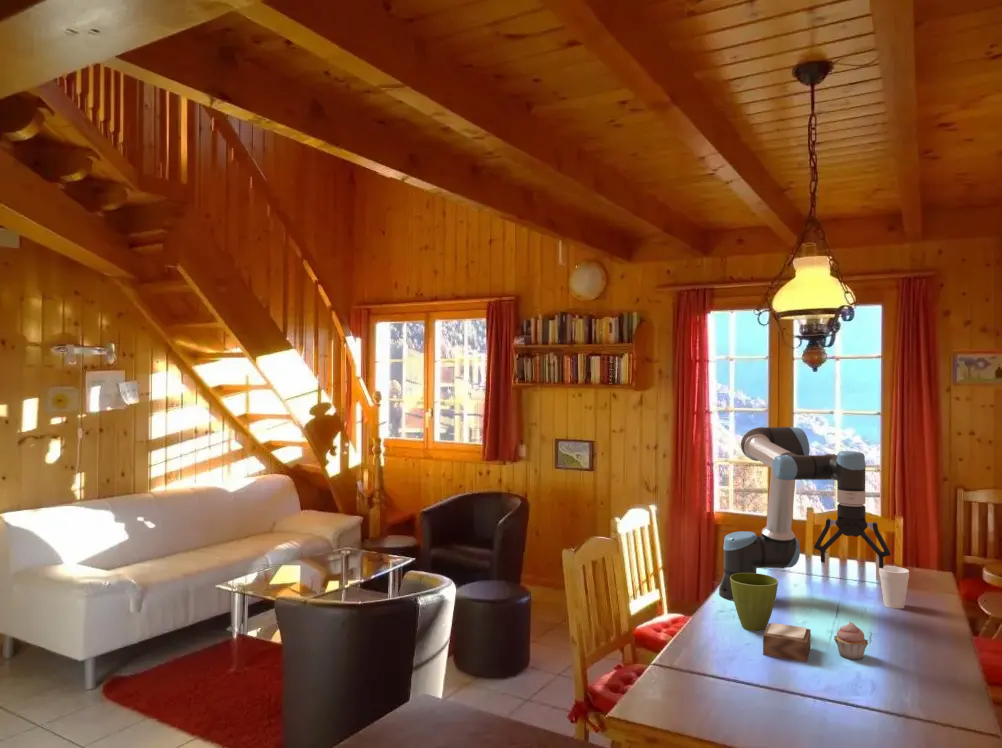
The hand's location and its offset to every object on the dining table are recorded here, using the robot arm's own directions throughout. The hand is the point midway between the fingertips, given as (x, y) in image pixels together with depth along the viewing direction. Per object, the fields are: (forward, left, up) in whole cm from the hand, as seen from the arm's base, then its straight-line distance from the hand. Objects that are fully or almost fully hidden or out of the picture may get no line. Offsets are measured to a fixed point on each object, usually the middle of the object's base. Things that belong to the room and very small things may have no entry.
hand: (851, 576), depth 216 cm
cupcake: (0, -1, -23) cm, 23 cm away
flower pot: (-29, +11, -23) cm, 39 cm away
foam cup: (+12, +58, -23) cm, 64 cm away
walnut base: (-17, -6, -23) cm, 29 cm away
